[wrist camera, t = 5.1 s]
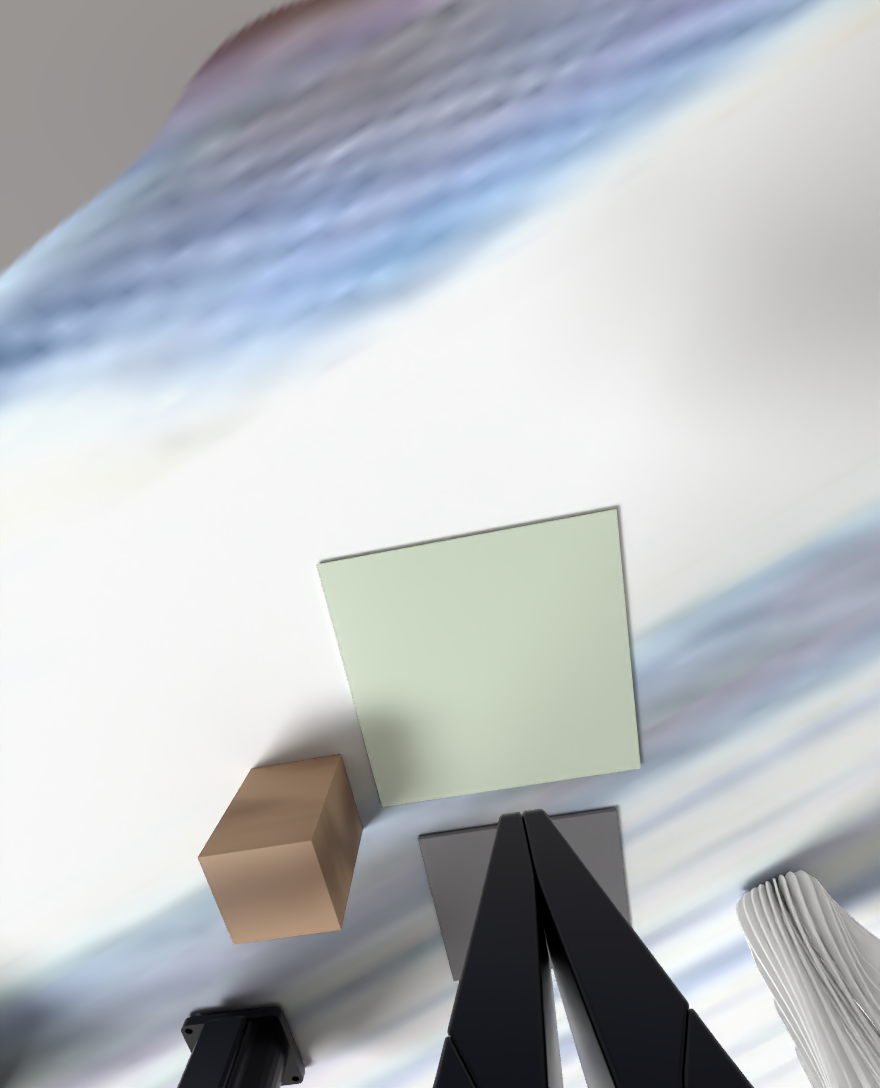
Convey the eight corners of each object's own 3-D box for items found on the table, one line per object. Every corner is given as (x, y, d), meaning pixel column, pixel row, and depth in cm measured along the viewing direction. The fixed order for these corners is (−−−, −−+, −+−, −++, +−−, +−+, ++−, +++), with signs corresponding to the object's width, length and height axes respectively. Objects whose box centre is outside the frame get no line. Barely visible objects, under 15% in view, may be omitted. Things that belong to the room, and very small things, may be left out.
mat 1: (639, 765, 22) (640, 768, 22) (382, 804, 22) (382, 807, 22) (614, 509, 19) (616, 509, 18) (317, 563, 19) (316, 565, 19)
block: (363, 827, 23) (341, 930, 18) (278, 840, 23) (233, 944, 18) (341, 753, 22) (311, 840, 17) (252, 767, 22) (197, 857, 17)
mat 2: (631, 954, 25) (632, 958, 25) (453, 976, 25) (453, 980, 25) (614, 807, 22) (616, 810, 22) (418, 836, 23) (418, 839, 23)
